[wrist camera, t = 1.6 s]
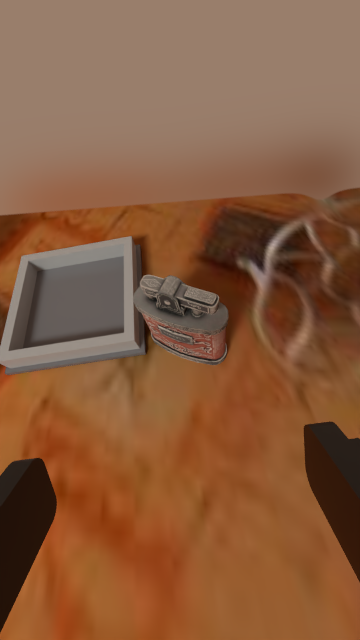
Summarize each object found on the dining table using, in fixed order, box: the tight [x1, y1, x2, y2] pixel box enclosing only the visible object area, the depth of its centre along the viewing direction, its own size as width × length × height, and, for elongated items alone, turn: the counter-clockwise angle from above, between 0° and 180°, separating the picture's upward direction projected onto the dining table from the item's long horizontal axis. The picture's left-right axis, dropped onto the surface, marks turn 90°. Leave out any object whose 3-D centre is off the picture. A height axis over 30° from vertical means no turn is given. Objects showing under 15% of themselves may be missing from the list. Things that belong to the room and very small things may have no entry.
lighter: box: [133, 275, 228, 365], centre depth 24 cm, size 8×3×10 cm, turn 66°
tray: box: [0, 236, 146, 375], centre depth 31 cm, size 15×15×2 cm
